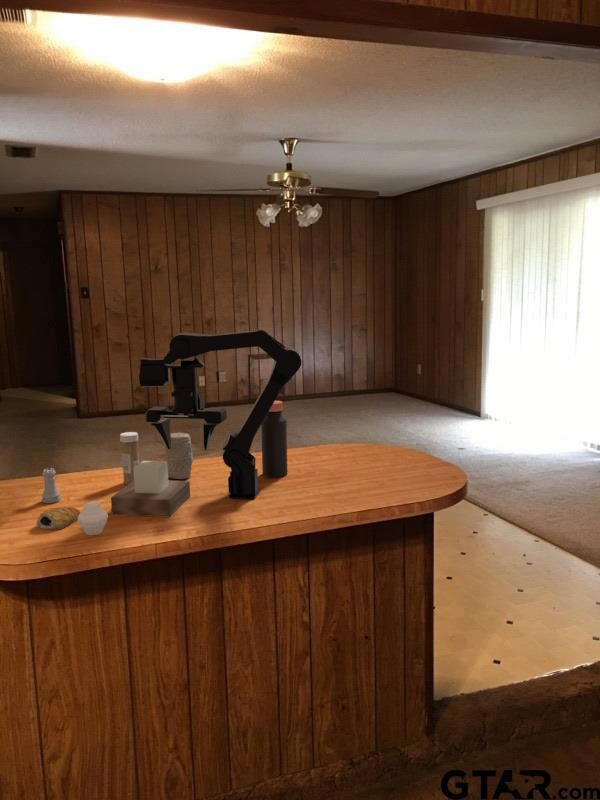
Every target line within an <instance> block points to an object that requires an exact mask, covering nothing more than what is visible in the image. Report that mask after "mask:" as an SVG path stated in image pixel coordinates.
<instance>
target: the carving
mask: <svg viewBox="0 0 600 800" xmlns="http://www.w3.org/2000/svg"><path fill="white" fill-rule="evenodd" d="M170 435H171V449H168V448H167V446H166V444H165V443H164V461H166V462H167V465H168V478H170V479H175V480H186V479H189V478H190V477H191V474H192V471H193V468H192V466H193V462H194V460H193V450H192V449H193V448H192V443H191V442H192V441H191V439H192V438H191V435H189V433H186V432H173V433H171V432H170Z"/></svg>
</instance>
